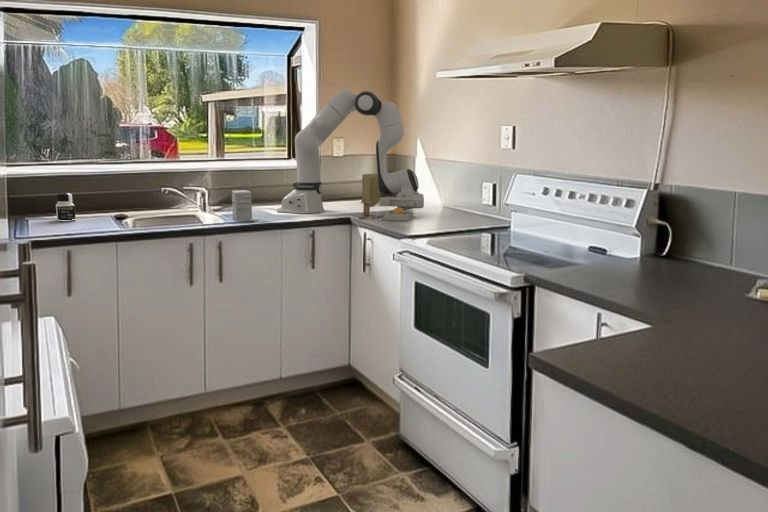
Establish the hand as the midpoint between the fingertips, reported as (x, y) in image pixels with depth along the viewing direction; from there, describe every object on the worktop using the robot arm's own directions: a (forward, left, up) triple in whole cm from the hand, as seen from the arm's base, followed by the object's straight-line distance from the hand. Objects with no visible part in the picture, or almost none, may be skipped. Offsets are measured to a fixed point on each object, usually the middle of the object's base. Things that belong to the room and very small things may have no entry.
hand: (398, 204), depth 330 cm
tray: (0, +1, -7) cm, 7 cm away
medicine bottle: (-139, -42, -7) cm, 145 cm away
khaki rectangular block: (-26, +50, -7) cm, 56 cm away
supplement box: (-67, -18, -7) cm, 70 cm away
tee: (-15, +1, -7) cm, 17 cm away
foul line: (-8, +1, -7) cm, 10 cm away
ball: (0, +1, -7) cm, 7 cm away
